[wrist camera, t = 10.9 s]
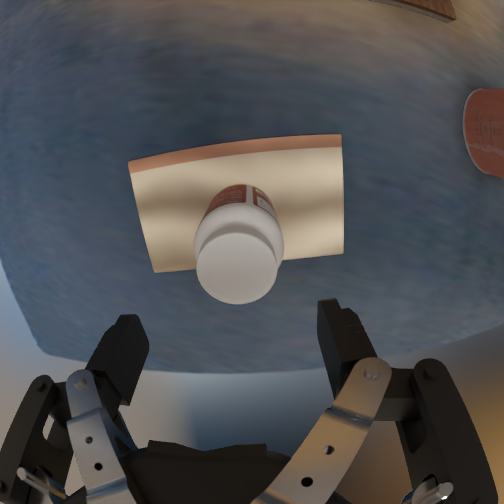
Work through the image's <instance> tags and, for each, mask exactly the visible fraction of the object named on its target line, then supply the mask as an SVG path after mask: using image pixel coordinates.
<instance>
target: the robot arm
mask: <svg viewBox="0 0 504 504" xmlns="http://www.w3.org/2000/svg"><path fill="white" fill-rule="evenodd" d="M317 335H318V341H319V345H320V348H321V352H322V356H323V359H324V363H325V367H326V370H327V374H328V378H329V381H330V385H331V389H332V393H333V397H334V400H335V402H334V403H333V405H332V406H331V408H327V409H326V410H325V411H324V413H323V414H322V416H321V417H320V419H319V420H318V422H317V423H316V425H315V426H314V428H313V429H312V431H311V432H310V434H309V435H308V436H307V438H306V439H305V441H304V442H303V444H302V445H301V446H300V448H299V449H298V450H297V452H296V453H295V455H294V456H293V457H290V456H287V455H284V454H281V453H277V452H273V451H267V446H266V444H253V445H234V446H229V447H224V448H219V449H214V450H210V451H200V450H196V449H193V448H189V447H186V446H183V445H180V444H177V443H170V442H161V441H153V440H149V443H148V447H145V448H141V449H138V447H137V446H136V445H135V443H134V441H133V439H132V437H131V435H130V433H129V431H128V428H127V426H126V424H125V422H124V420H123V417H122V415H121V413H120V411H119V410H118V408H119V405H126V406H130V403H131V399H132V397H133V394H134V391H135V388H136V385H137V382H138V379H139V376H140V374H141V371H142V368H143V366H144V363H145V360H146V358H147V355H148V352H149V341H148V338H147V336H146V333H145V331H144V329H143V326H142V324H141V321H140V319H139V317H138V316H137V315H136V314H128V315H120V316H119V318H118V320H117V322H116V323H115V325H112V326H111V327H110V328H109V329H108V330H107V331H106V332H105V333H104V335H103V337H102V338H101V342H99V344H98V346H97V348H96V349H95V351H94V353H93V355H92V356H91V358H90V360H89V362H88V364H87V366H86V368H85V369H81V370H77V371H75V372H74V373H72V374H71V375H70V376H69V377H68V379H67V381H66V382H61V383H54V381H53V380H52V379H51V377H49V376H48V375H41V376H39V377H37V378H36V379H35V380H34V381H33V382H32V383H31V385H30V387H29V389H28V391H27V393H26V394H25V396H24V398H23V401H22V402H21V404H20V407H19V409H18V411H17V413H16V415H15V417H14V419H13V422H12V424H11V426H10V428H9V431H8V433H7V435H6V438H5V441H4V443H3V445H2V448H1V451H0V502H2V503H4V504H353V503H351V502H350V501H348V500H347V499H346V498H344V497H343V496H342V495H340V494H339V493H338V492H336V491H335V488H336V487H337V485H338V483H339V482H340V480H341V479H342V477H343V476H344V474H345V472H346V470H347V469H348V467H349V466H350V464H351V462H352V460H353V458H354V457H355V455H356V453H357V451H358V449H359V447H360V445H361V444H362V442H363V440H364V438H365V436H366V434H367V432H368V430H369V428H370V426H371V424H372V421H373V420H375V421H395V423H396V426H397V429H398V433H399V437H400V440H401V444H402V447H403V452H404V455H405V459H406V463H407V467H408V472H409V476H410V480H411V485H412V491H410V492H409V493H408V494H407V495H406V496H405V497H404V498H403V500H402V502H401V504H498V494H497V491H496V487H495V483H494V480H493V476H492V473H491V470H490V467H489V464H488V461H487V458H486V456H485V452H484V450H483V447H482V444H481V442H480V439H479V437H478V434H477V432H476V429H475V427H474V424H473V422H472V420H471V418H470V415H469V413H468V411H467V409H466V406H465V404H464V402H463V400H462V398H461V396H460V394H459V392H458V390H457V388H456V386H455V384H454V382H453V380H452V378H451V376H450V374H449V372H448V370H447V368H446V367H445V365H444V364H443V363H441V362H440V361H438V360H436V359H423V360H421V361H419V362H418V363H417V364H416V365H415V367H414V369H398V368H392V367H390V366H389V364H388V363H387V362H385V361H384V360H382V359H380V358H378V357H377V355H376V352H375V350H374V348H373V346H372V344H371V342H370V340H369V338H368V336H367V333H366V332H365V329H364V327H363V325H361V321H360V319H359V317H358V315H357V314H356V313H355V312H353V311H352V310H351V309H350V308H345V309H341V308H340V305H339V303H338V301H337V299H336V298H331V299H324V300H319V301H318V314H317ZM48 415H50V416H51V417H52V418H53V419H54V423H53V425H52V428H51V430H50V433H49V436H48V438H47V440H46V439H45V438H44V436H43V427H44V425H45V422H46V420H47V418H48ZM73 453H74V454H75V458H76V461H77V464H78V467H79V470H80V473H81V476H82V479H83V482H84V486H83V487H82V488H80V489H79V490H77V491H76V492H75V493H73V494H72V495H71V496H68V495H66V493H65V489H64V487H65V483H66V479H67V475H68V471H69V467H70V464H71V460H72V457H73Z"/></svg>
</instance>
